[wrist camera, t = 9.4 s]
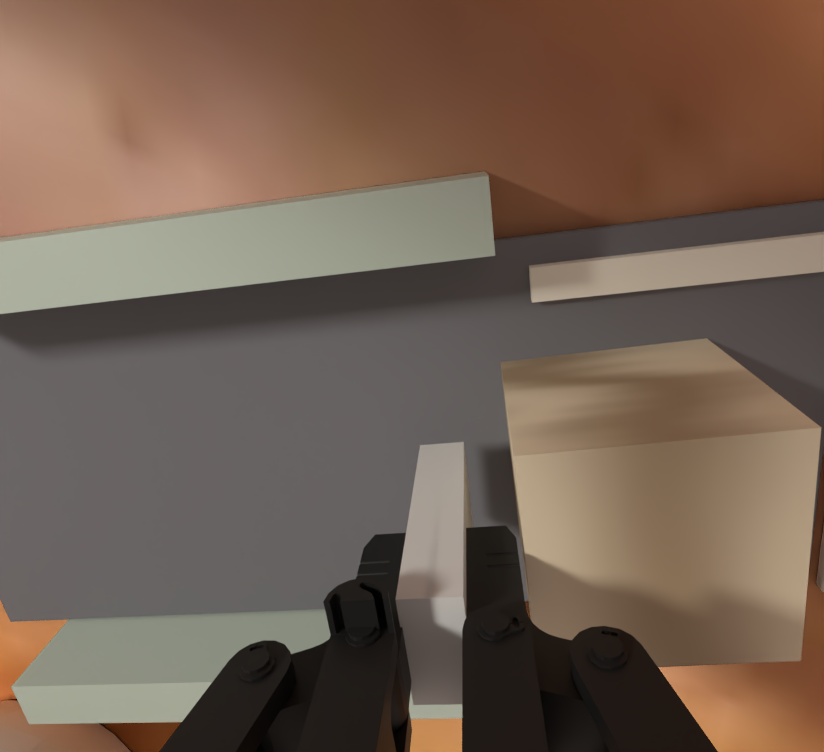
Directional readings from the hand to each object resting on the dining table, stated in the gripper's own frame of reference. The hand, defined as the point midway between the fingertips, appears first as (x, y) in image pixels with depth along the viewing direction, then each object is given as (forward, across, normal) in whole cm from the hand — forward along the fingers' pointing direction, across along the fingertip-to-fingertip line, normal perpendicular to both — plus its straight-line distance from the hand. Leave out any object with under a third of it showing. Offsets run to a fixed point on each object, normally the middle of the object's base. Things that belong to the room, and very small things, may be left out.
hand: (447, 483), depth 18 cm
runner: (+2, -4, 0) cm, 4 cm away
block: (+2, +5, 0) cm, 5 cm away
